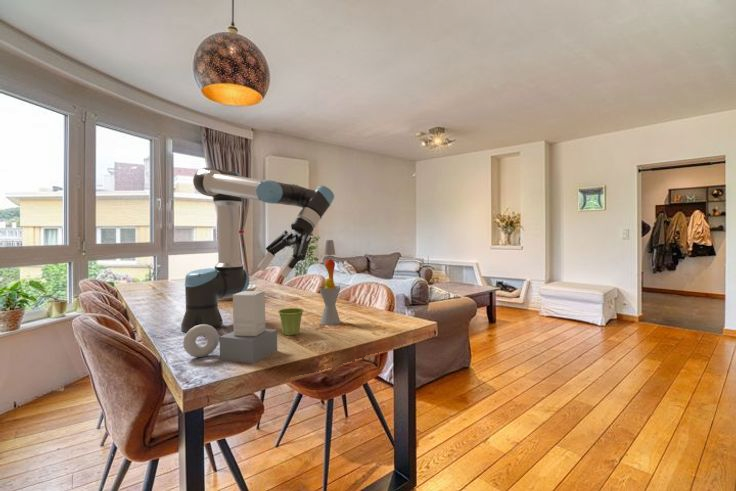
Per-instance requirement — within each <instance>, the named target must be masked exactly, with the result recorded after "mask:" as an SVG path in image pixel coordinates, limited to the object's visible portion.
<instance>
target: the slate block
mask: <svg viewBox="0 0 736 491" xmlns="http://www.w3.org/2000/svg"><path fill="white" fill-rule="evenodd" d="M275 351H276V352H278V329H271V328H265V331H263V332H262V333H260V334H259V335H257V336H234V331H231V332H229V333H225V334H224V335H221V336H219V359H220V360H223V361H224V360H225V361H230V362H231V361H232V362H237V363H238V362H239V363H246V364H255V363H257V362H259V361H261V360H263V359H265V358H266V357H265V356H267V355H269V354H270V355H272V354H274V353H275ZM273 352H274V353H273ZM271 353H272V354H271ZM270 355H269V356H270ZM264 357H265V358H264ZM267 357H268V356H267ZM262 358H263V359H262ZM260 359H261V360H260Z"/></svg>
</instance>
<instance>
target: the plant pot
mask: <svg viewBox="0 0 736 491" xmlns="http://www.w3.org/2000/svg"><path fill="white" fill-rule="evenodd" d="M278 314H279V317H280V322H281V323H280V324H281V331H282V334H283V335H284V336H290V335H291V336H293V335H295V336H296V335H299V334H300V330H301V322H302V316H303V314H304V309H303V308H297V307H296V308H295V307H294V308H293V307H289V308H283V309H278Z"/></svg>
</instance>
